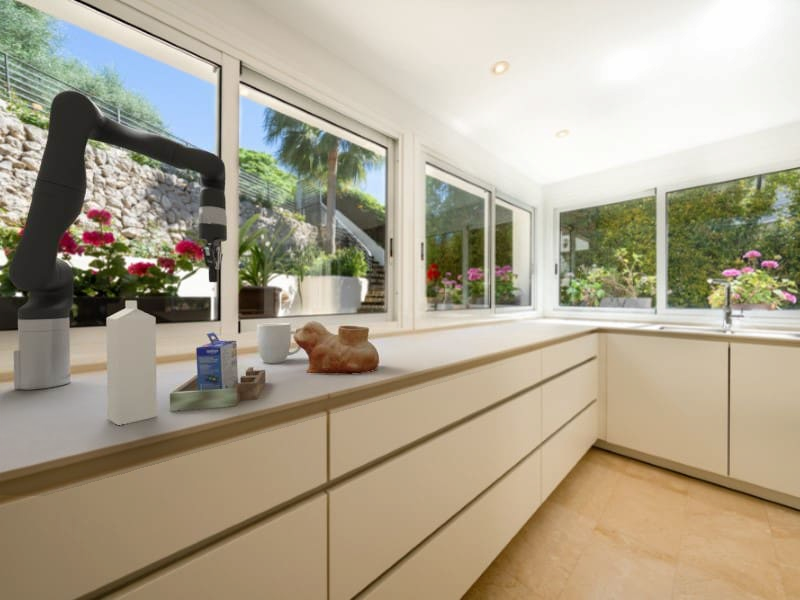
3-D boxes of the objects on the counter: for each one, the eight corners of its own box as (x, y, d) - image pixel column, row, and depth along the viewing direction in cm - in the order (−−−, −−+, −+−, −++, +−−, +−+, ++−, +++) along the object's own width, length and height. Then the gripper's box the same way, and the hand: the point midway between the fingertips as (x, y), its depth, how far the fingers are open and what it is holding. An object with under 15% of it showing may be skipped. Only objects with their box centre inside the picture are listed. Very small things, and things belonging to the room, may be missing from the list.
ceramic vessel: (302, 365, 115) (301, 319, 115) (381, 365, 114) (381, 319, 113) (286, 374, 101) (286, 323, 101) (376, 375, 100) (376, 322, 100)
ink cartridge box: (214, 391, 83) (214, 331, 83) (239, 390, 84) (238, 330, 84) (195, 404, 73) (195, 335, 73) (223, 403, 74) (222, 335, 74)
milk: (145, 411, 69) (144, 300, 69) (157, 417, 66) (156, 300, 66) (106, 419, 65) (105, 300, 64) (117, 426, 61) (116, 300, 61)
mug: (301, 357, 129) (300, 322, 129) (303, 362, 119) (303, 324, 118) (257, 360, 124) (257, 323, 124) (256, 366, 113) (256, 325, 113)
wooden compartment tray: (170, 411, 69) (169, 393, 69) (204, 383, 91) (204, 369, 91) (254, 404, 73) (254, 387, 73) (267, 379, 95) (267, 366, 95)
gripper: (205, 228, 110) (206, 283, 110) (191, 219, 97) (192, 281, 97) (231, 229, 112) (231, 283, 112) (221, 220, 99) (221, 281, 99)
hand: (213, 282), depth 105 cm, fingers closed
